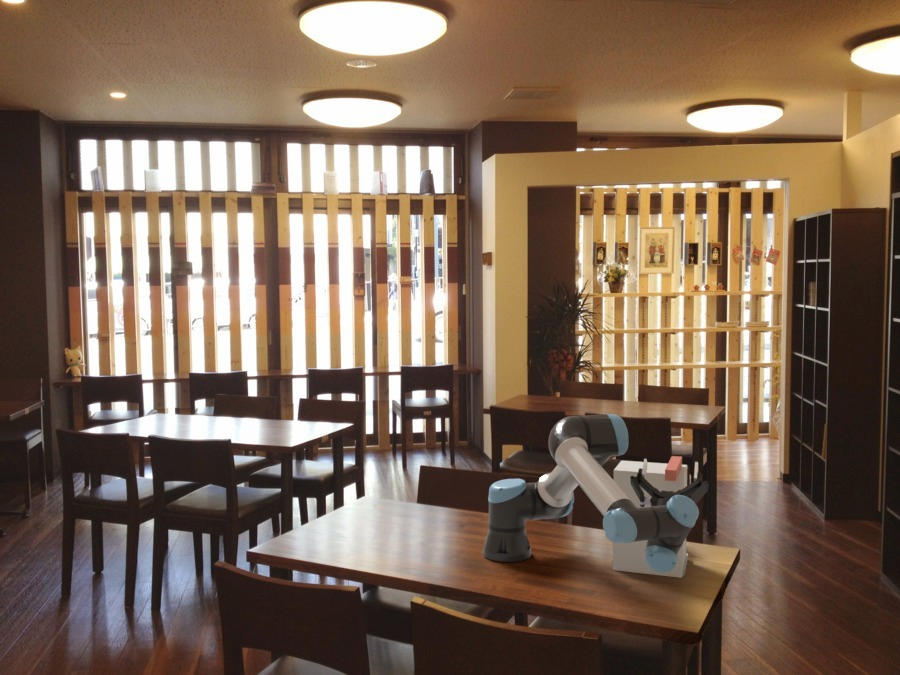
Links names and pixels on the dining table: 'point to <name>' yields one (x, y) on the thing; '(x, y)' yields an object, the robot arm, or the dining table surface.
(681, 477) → the white upright block
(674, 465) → the lever bar
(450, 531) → the dining table surface
